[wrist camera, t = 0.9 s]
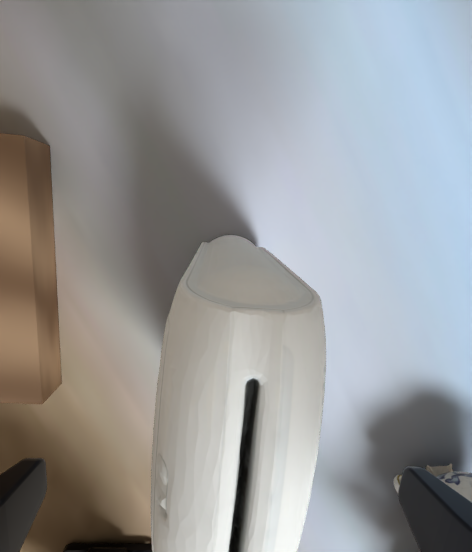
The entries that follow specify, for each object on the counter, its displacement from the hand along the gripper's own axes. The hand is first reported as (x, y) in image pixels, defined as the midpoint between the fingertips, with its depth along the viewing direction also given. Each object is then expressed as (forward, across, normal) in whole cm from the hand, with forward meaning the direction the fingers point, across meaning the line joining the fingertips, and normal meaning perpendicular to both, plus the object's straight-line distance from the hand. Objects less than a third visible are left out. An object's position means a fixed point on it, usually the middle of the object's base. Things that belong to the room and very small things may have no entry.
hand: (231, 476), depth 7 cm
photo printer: (+11, 0, 0) cm, 11 cm away
